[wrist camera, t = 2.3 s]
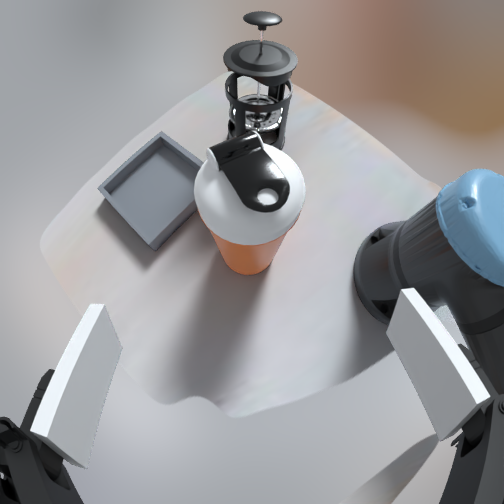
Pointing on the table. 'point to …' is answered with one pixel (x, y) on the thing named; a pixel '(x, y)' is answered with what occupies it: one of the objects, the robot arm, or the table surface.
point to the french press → (265, 72)
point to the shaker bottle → (248, 200)
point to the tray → (155, 189)
